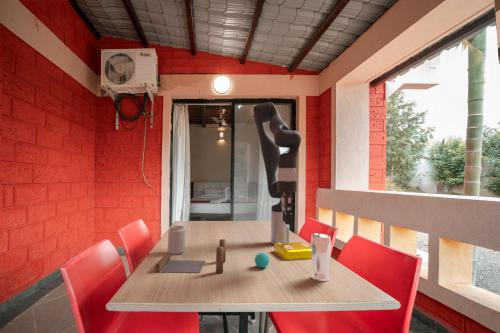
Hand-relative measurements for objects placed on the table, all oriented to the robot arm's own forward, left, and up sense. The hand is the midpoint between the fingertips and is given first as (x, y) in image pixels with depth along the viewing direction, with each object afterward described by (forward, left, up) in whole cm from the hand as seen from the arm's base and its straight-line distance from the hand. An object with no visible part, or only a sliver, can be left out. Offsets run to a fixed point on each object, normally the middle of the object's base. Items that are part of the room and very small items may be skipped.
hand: (286, 222), depth 107 cm
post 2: (+25, +6, -17) cm, 32 cm away
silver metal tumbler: (-11, +11, -18) cm, 23 cm away
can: (+47, -19, -18) cm, 54 cm away
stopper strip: (+48, 0, -17) cm, 51 cm away
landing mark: (+39, 0, -17) cm, 43 cm away
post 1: (+25, -6, -17) cm, 32 cm away
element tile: (-6, -19, -18) cm, 27 cm away
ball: (+9, 0, -15) cm, 17 cm away
